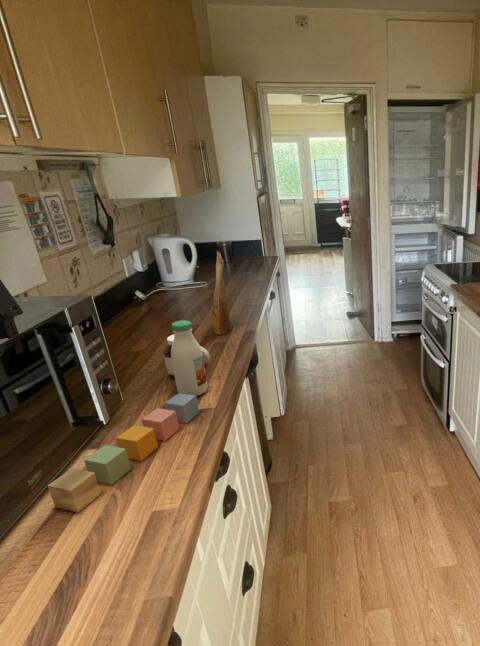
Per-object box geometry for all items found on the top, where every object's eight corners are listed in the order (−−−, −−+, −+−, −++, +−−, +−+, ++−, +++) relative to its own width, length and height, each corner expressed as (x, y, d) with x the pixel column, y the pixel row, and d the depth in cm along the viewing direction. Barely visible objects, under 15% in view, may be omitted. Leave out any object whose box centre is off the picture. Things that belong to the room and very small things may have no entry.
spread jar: (167, 381, 123) (159, 344, 118) (169, 365, 132) (162, 330, 128) (211, 375, 127) (206, 338, 122) (210, 360, 136) (205, 326, 132)
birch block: (55, 507, 77) (47, 485, 75) (79, 488, 82) (72, 467, 80) (78, 512, 76) (70, 490, 74) (101, 493, 81) (94, 472, 79)
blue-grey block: (168, 420, 104) (164, 402, 102) (181, 410, 109) (178, 392, 107) (186, 423, 103) (182, 405, 101) (199, 412, 108) (196, 395, 106)
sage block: (90, 480, 84) (83, 459, 82) (110, 464, 89) (105, 444, 87) (111, 484, 83) (105, 464, 81) (131, 468, 88) (125, 448, 86)
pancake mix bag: (234, 319, 173) (225, 249, 162) (232, 336, 156) (222, 259, 145) (216, 320, 171) (206, 249, 160) (212, 337, 154) (201, 260, 143)
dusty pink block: (145, 437, 97) (141, 419, 95) (161, 425, 102) (157, 407, 100) (164, 441, 96) (160, 422, 94) (179, 429, 101) (175, 410, 99)
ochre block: (121, 457, 91) (115, 437, 89) (138, 443, 95) (134, 424, 93) (141, 461, 90) (136, 441, 88) (158, 447, 94) (153, 428, 92)
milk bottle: (190, 400, 113) (177, 330, 105) (171, 393, 117) (158, 324, 109) (214, 388, 119) (203, 321, 111) (195, 382, 123) (184, 316, 115)
